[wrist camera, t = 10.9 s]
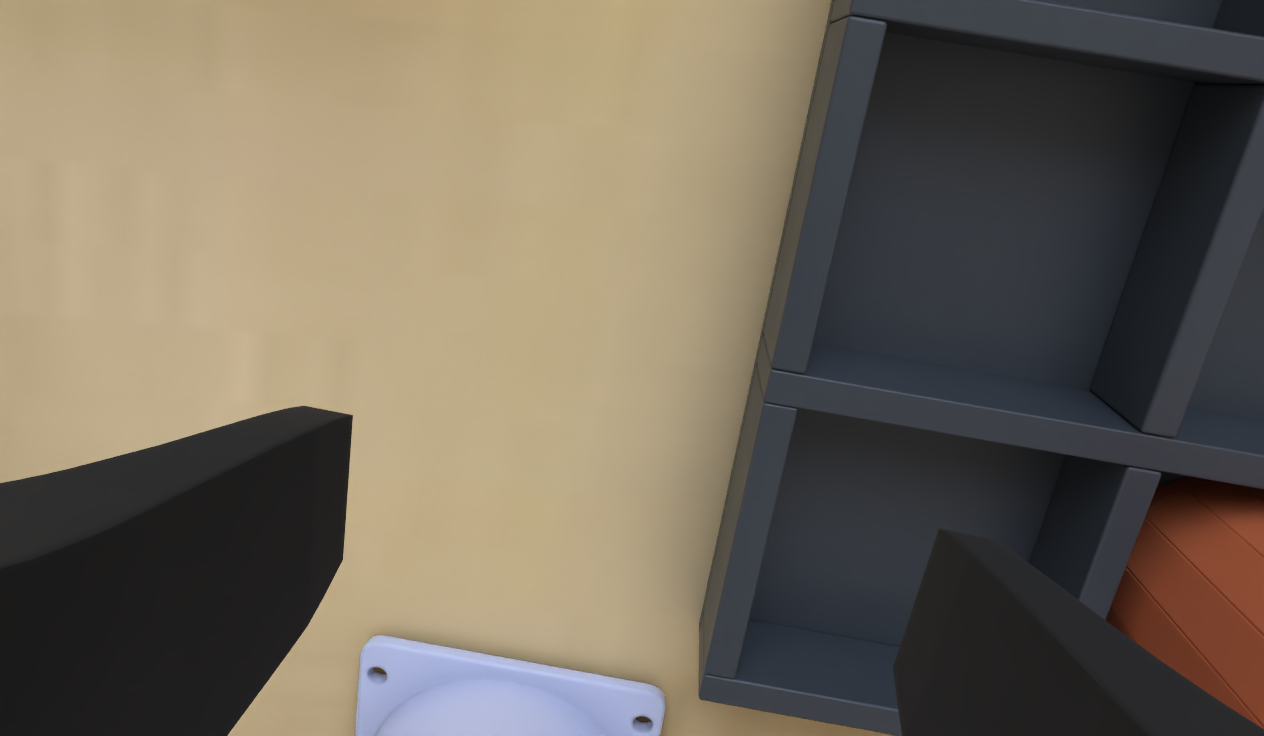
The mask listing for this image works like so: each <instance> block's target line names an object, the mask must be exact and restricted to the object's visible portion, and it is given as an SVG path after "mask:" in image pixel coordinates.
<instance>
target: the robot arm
mask: <svg viewBox="0 0 1264 736" xmlns="http://www.w3.org/2000/svg"><path fill="white" fill-rule="evenodd" d="M352 419H353V415H349V414H343V413H338V412H333V411H328V410H323V409H317V408H312V407H307V406H300V407H293V408H288V409H283V410H279V411H275V412H271V413H267V414H263V415H260V416H256V417H253V418H249V419H246V420H242V421H239V422H236V423H232V424H229V425H226V426H222V427H219V428H215V429H212V430H209V431H205V432H202V433H199V434H195V435H192V436H189V437H185V438H182V439H179V440H175V441H172V442H169V443H165V444H162V445H158V446H155V447H151V448H147V449H143V450H139V451H136V452H132V453H128V454H124V455H120V456H117V457H113V458H109V459H105V460H101V461H98V462H94V463H90V464H86V465H82V466H79V467H75V468H71V469H67V470H62V471H58V472H53V473H49V474H44V475H40V476H35V477H30V478H25V479H21V480H16V481H10V482H5V483H0V736H227V735H228V734H229V732H230V731H231V730H232V728H233V727H234V726H235V724H236V723H237V722H238V720H239V719H240V718H241V716H242V715H243V714H244V712H245V711H246V710H247V708H248V707H249V705H250V704H251V703H252V701H253V700H254V699H255V697H256V696H257V695H258V693H259V692H260V691H261V689H262V688H263V687H264V685H265V684H266V683H267V681H268V680H269V678H270V677H271V676H272V674H273V673H274V672H275V670H276V669H277V668H278V666H279V665H280V663H281V662H282V661H283V659H284V658H285V656H286V655H287V654H288V652H289V651H290V650H291V648H292V647H293V645H294V644H295V643H296V641H297V640H298V639H299V637H300V636H301V634H302V633H303V631H304V630H305V629H306V627H307V626H308V624H309V622H310V620H311V619H312V617H313V615H314V613H315V611H316V610H317V608H318V606H319V604H320V602H321V601H322V599H323V597H324V595H325V593H326V591H327V589H328V587H329V585H330V584H331V582H332V580H333V578H334V576H335V574H336V572H337V570H338V568H339V566H340V564H341V562H342V560H343V549H344V535H345V520H346V506H347V491H348V477H349V462H350V448H351V433H352ZM373 667H379V668H381V669H383V670H384V671H385V672H386V673H387V674H380V673H377V672H376V671H375V670H374V668H373ZM893 672H894V680H895V688H896V697H897V705H898V712H899V718H900V725H901V731H902V736H1264V729H1263V728H1261V727H1260V726H1258V725H1256V724H1255V723H1253V722H1252V721H1250V720H1248V719H1247V718H1245V717H1244V716H1242V715H1241V714H1239V713H1237V712H1236V711H1234V710H1233V709H1231V708H1230V707H1228V706H1226V705H1225V704H1223V703H1222V702H1220V701H1219V700H1217V699H1216V698H1214V697H1213V696H1211V695H1210V694H1209V693H1207V692H1206V691H1204V690H1203V689H1201V688H1200V687H1198V686H1197V685H1195V684H1194V683H1192V682H1191V681H1190V680H1188V679H1187V678H1185V677H1184V676H1182V675H1181V674H1179V673H1178V672H1176V671H1175V670H1173V669H1172V668H1171V667H1169V666H1168V665H1166V664H1165V663H1163V662H1162V661H1160V660H1159V659H1158V658H1156V657H1155V656H1154V655H1152V654H1151V653H1149V652H1148V651H1147V650H1145V649H1144V648H1142V647H1141V646H1140V645H1138V644H1137V643H1135V642H1134V641H1133V640H1131V639H1130V638H1129V637H1127V636H1126V635H1125V634H1123V633H1122V632H1120V631H1119V630H1118V629H1116V628H1115V627H1114V626H1112V625H1111V624H1110V623H1108V622H1107V621H1106V620H1104V619H1103V618H1102V617H1100V616H1099V615H1098V614H1096V613H1095V612H1094V611H1092V610H1091V609H1090V608H1088V607H1087V606H1086V605H1084V604H1083V603H1082V602H1081V601H1079V600H1078V599H1077V598H1075V597H1074V596H1073V595H1071V594H1070V593H1069V592H1067V591H1066V590H1065V589H1063V588H1062V587H1061V586H1059V585H1058V584H1057V583H1055V582H1054V581H1053V580H1051V579H1050V578H1049V577H1047V576H1046V575H1045V574H1043V573H1042V572H1041V571H1039V570H1038V569H1037V568H1035V567H1034V566H1032V565H1031V564H1030V563H1028V562H1027V561H1025V560H1024V559H1023V558H1021V557H1020V556H1018V555H1017V554H1015V553H1014V552H1012V551H1011V550H1009V549H1008V548H1006V547H1005V546H1003V545H1001V544H999V543H998V542H996V541H994V540H992V539H990V538H986V537H981V536H976V535H971V534H965V533H960V532H955V531H950V530H945V529H939V530H938V533H937V536H936V539H935V542H934V545H933V548H932V551H931V554H930V557H929V560H928V563H927V566H926V569H925V572H924V575H923V578H922V581H921V584H920V587H919V590H918V593H917V596H916V600H915V603H914V606H913V609H912V612H911V615H910V618H909V621H908V624H907V627H906V630H905V633H904V636H903V639H902V642H901V645H900V648H899V651H898V654H897V657H896V660H895V663H894V666H893ZM665 704H666V702H665V695H664V694H663V692H662V691H661V690H660V689H659V688H658V687H657V686H654V685H651V684H647V683H641V682H636V681H630V680H625V679H620V678H614V677H609V676H603V675H598V674H592V673H587V672H581V671H576V670H570V669H565V668H559V667H554V666H549V665H543V664H538V663H532V662H527V661H521V660H516V659H510V658H505V657H499V656H494V655H489V654H483V653H478V652H472V651H467V650H461V649H456V648H450V647H445V646H439V645H434V644H428V643H423V642H418V641H412V640H407V639H401V638H396V637H390V636H385V635H377V636H374V637H371V638H370V639H369V640H368V641H367V642H366V644H365V645H364V647H363V649H362V651H361V655H360V667H359V682H358V696H357V711H356V725H355V736H660V733H661V728H662V723H663V719H664V714H665ZM639 716H645V717H647V718H649V719H650V721H649V722H640V721H638V720H636V718H637V717H639Z"/></svg>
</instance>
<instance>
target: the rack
mask: <svg viewBox="0 0 1264 736" xmlns="http://www.w3.org/2000/svg"><path fill="white" fill-rule="evenodd" d="M1187 477H1196V478H1202V479H1207V480H1213V481H1219V482H1225V483H1230V484H1236V485H1242V486H1247V487H1253V488H1259V489H1264V0H832V2H831V7H830V12H829V17H828V21H827V26H826V31H825V35H824V40H823V45H822V49H821V54H820V59H819V64H818V68H817V73H816V78H815V82H814V87H813V92H812V96H811V101H810V106H809V111H808V115H807V120H806V125H805V129H804V134H803V139H802V143H801V148H800V153H799V158H798V162H797V167H796V172H795V176H794V181H793V186H792V190H791V195H790V200H789V205H788V209H787V214H786V219H785V223H784V228H783V233H782V237H781V242H780V247H779V252H778V256H777V261H776V266H775V270H774V275H773V280H772V284H771V289H770V294H769V299H768V303H767V308H766V313H765V317H764V322H763V327H762V331H761V336H760V341H759V346H758V350H757V355H756V360H755V364H754V369H753V374H752V378H751V383H750V388H749V393H748V397H747V402H746V407H745V411H744V416H743V421H742V425H741V430H740V435H739V440H738V444H737V449H736V454H735V458H734V463H733V468H732V472H731V477H730V482H729V487H728V491H727V496H726V501H725V505H724V510H723V515H722V519H721V524H720V529H719V534H718V538H717V543H716V548H715V552H714V557H713V562H712V566H711V571H710V576H709V581H708V585H707V590H706V595H705V599H704V604H703V609H702V613H701V618H700V623H699V698H700V699H701V700H705V701H711V702H716V703H722V704H727V705H733V706H738V707H744V708H749V709H754V710H760V711H765V712H771V713H776V714H782V715H787V716H793V717H798V718H804V719H809V720H814V721H820V722H825V723H831V724H836V725H842V726H847V727H853V728H858V729H864V730H869V731H874V732H880V733H885V734H891V735H896V736H902V731H901V725H900V718H899V712H898V705H897V697H896V688H895V680H894V672H893V666H894V663H895V660H896V657H897V654H898V651H899V648H900V645H901V642H902V639H903V636H904V633H905V630H906V627H907V624H908V621H909V618H910V615H911V612H912V609H913V606H914V603H915V600H916V596H917V593H918V590H919V587H920V584H921V581H922V578H923V575H924V572H925V569H926V566H927V563H928V560H929V557H930V554H931V551H932V548H933V545H934V542H935V539H936V536H937V533H938V530H939V529H945V530H950V531H955V532H960V533H965V534H971V535H976V536H981V537H986V538H990V539H992V540H994V541H996V542H998V543H999V544H1001V545H1003V546H1005V547H1006V548H1008V549H1009V550H1011V551H1012V552H1014V553H1015V554H1017V555H1018V556H1020V557H1021V558H1023V559H1024V560H1025V561H1027V562H1028V563H1030V564H1031V565H1032V566H1034V567H1035V568H1037V569H1038V570H1039V571H1041V572H1042V573H1043V574H1045V575H1046V576H1047V577H1049V578H1050V579H1051V580H1053V581H1054V582H1055V583H1057V584H1058V585H1059V586H1061V587H1062V588H1063V589H1065V590H1066V591H1067V592H1069V593H1070V594H1071V595H1073V596H1074V597H1075V598H1077V599H1078V600H1079V601H1081V602H1082V603H1083V604H1084V605H1086V606H1087V607H1088V608H1090V609H1091V610H1092V611H1094V612H1095V613H1096V614H1098V615H1099V616H1100V617H1102V618H1103V619H1104V620H1106V618H1107V615H1108V613H1109V610H1110V607H1111V605H1112V602H1113V600H1114V597H1115V594H1116V592H1117V589H1118V587H1119V584H1120V581H1121V579H1122V576H1123V574H1124V571H1125V568H1126V566H1127V563H1128V561H1129V558H1130V556H1131V553H1132V550H1133V548H1134V545H1135V543H1136V540H1137V537H1138V535H1139V532H1140V530H1141V527H1142V524H1143V522H1144V519H1145V517H1146V514H1147V511H1148V509H1149V506H1150V504H1151V501H1152V499H1153V496H1154V493H1155V491H1156V488H1159V487H1161V486H1163V485H1165V484H1168V483H1170V482H1173V481H1176V480H1179V479H1182V478H1187Z"/></svg>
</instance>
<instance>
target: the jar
mask: <svg viewBox="0 0 1264 736" xmlns="http://www.w3.org/2000/svg"><path fill="white" fill-rule="evenodd" d="M1106 621H1107V622H1108V623H1110V624H1111V625H1112V626H1114V627H1115V628H1116V629H1118V630H1119V631H1120V632H1122V633H1123V634H1125V635H1126V636H1127V637H1129V638H1130V639H1131V640H1133V641H1134V642H1135V643H1137V644H1138V645H1140V646H1141V647H1142V648H1144V649H1145V650H1147V651H1148V652H1149V653H1151V654H1152V655H1154V656H1155V657H1156V658H1158V659H1159V660H1160V661H1162V662H1163V663H1165V664H1166V665H1168V666H1169V667H1171V668H1172V669H1173V670H1175V671H1176V672H1178V673H1179V674H1181V675H1182V676H1184V677H1185V678H1187V679H1188V680H1190V681H1191V682H1192V683H1194V684H1195V685H1197V686H1198V687H1200V688H1201V689H1203V690H1204V691H1206V692H1207V693H1209V694H1210V695H1211V696H1213V697H1214V698H1216V699H1217V700H1219V701H1220V702H1222V703H1223V704H1225V705H1226V706H1228V707H1230V708H1231V709H1233V710H1234V711H1236V712H1237V713H1239V714H1241V715H1242V716H1244V717H1245V718H1247V719H1248V720H1250V721H1252V722H1253V723H1255V724H1256V725H1258V726H1260V727H1261V728H1263V729H1264V489H1259V488H1253V487H1247V486H1242V485H1236V484H1230V483H1225V482H1219V481H1213V480H1207V479H1202V478H1196V477H1187V478H1182V479H1179V480H1176V481H1173V482H1170V483H1168V484H1165V485H1163V486H1161V487H1159V488H1156V491H1155V493H1154V496H1153V499H1152V501H1151V504H1150V506H1149V509H1148V511H1147V514H1146V517H1145V519H1144V522H1143V524H1142V527H1141V530H1140V532H1139V535H1138V537H1137V540H1136V543H1135V545H1134V548H1133V550H1132V553H1131V556H1130V558H1129V561H1128V563H1127V566H1126V568H1125V571H1124V574H1123V576H1122V579H1121V581H1120V584H1119V587H1118V589H1117V592H1116V594H1115V597H1114V600H1113V602H1112V605H1111V607H1110V610H1109V613H1108V615H1107V618H1106Z"/></svg>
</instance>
